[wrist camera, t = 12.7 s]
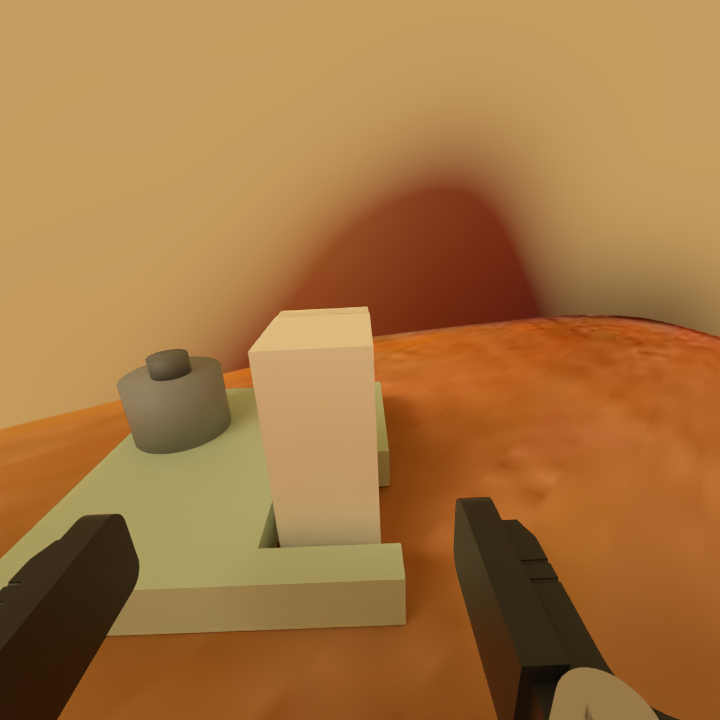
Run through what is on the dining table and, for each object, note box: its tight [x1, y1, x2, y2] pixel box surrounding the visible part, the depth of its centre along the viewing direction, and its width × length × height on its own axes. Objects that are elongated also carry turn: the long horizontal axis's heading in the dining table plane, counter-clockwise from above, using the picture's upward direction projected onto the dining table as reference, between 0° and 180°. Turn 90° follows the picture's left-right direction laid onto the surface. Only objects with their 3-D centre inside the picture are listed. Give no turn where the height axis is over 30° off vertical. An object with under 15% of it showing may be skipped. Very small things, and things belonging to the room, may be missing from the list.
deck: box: [0, 349, 406, 636], centre depth 22 cm, size 17×18×8 cm
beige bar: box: [248, 307, 381, 548], centre depth 19 cm, size 4×6×11 cm
